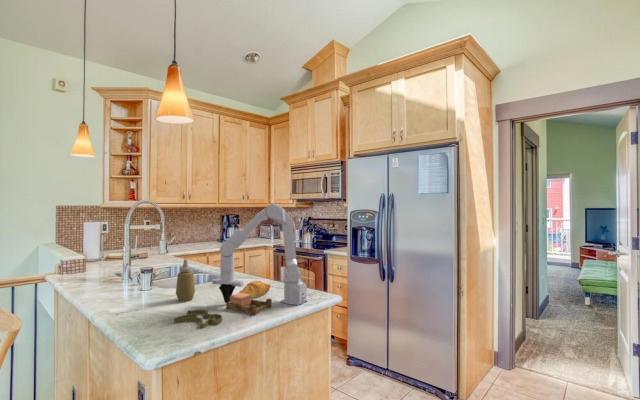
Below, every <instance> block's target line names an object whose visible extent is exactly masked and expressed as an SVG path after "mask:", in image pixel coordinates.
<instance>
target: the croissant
mask: <svg viewBox="0 0 640 400" xmlns="http://www.w3.org/2000/svg"><path fill="white" fill-rule="evenodd" d="M270 289H271V284H270V283H264V282H262V281H261V280H253V281H250V282H248V283H247V284H246V285H245V286H244V287H243V288H242V289H241V290H240V291H239V292H238V293H245V294H251V299H256V298H259V297H262V296H265V294H266V293H267V292H269V290H270Z"/></svg>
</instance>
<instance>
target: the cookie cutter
mask: <svg viewBox="0 0 640 400" xmlns="http://www.w3.org/2000/svg"><path fill="white" fill-rule="evenodd" d="M198 315H203V319H204V320H206V321H205V322H203V319H202V317H199V316H198ZM222 321H223V315H222V314H219V313H209V310H207V309H206V310H205V309H192V310H187V311H186V314H185V315H180V316H176V317H173V323H174V324H179V323H186V322H196V323H199V329H205V328H206V327H208V326H209V324H210V325H213V326H218V325H220V324H221V323H222Z"/></svg>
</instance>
